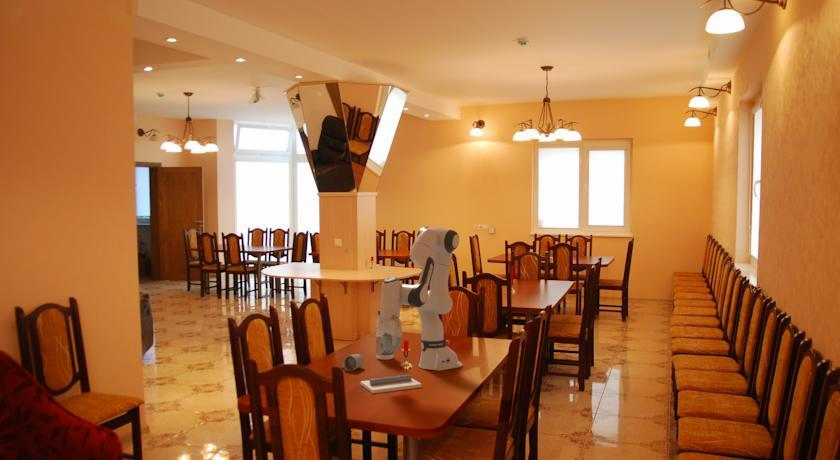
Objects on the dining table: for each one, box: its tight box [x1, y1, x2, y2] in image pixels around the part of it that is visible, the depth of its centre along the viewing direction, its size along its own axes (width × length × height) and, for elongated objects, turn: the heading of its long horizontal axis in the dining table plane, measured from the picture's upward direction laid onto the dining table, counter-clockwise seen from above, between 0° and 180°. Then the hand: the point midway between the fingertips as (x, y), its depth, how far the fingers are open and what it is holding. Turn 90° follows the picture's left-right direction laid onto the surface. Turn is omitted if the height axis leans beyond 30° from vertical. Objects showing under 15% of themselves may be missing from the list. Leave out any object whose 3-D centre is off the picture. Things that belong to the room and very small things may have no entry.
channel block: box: [379, 335, 402, 351], centre depth 314 cm, size 8×6×6 cm
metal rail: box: [369, 373, 413, 386], centre depth 314 cm, size 20×2×2 cm, turn 115°
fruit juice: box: [375, 306, 395, 361], centre depth 368 cm, size 9×9×28 cm
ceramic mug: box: [341, 353, 364, 372], centre depth 346 cm, size 11×8×8 cm
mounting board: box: [359, 378, 423, 394], centre depth 314 cm, size 24×16×2 cm, turn 115°
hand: (390, 343), depth 314 cm, fingers closed on channel block, 6 cm apart
